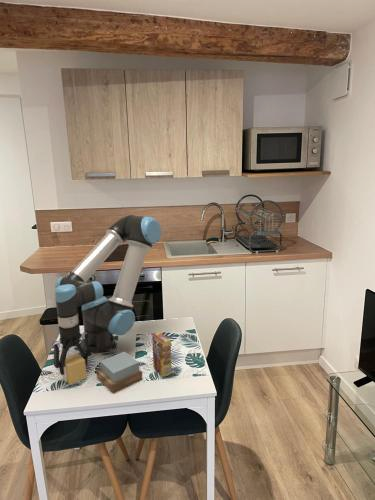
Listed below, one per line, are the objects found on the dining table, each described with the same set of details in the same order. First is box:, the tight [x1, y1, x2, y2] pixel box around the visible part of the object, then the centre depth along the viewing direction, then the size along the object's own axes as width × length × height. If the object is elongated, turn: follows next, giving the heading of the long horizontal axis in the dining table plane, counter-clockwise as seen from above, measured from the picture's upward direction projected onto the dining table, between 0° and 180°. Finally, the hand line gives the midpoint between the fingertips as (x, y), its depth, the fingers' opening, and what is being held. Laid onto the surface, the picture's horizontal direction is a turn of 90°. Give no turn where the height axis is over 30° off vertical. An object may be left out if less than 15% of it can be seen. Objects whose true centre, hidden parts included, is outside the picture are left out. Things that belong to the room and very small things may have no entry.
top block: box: [99, 351, 140, 383], centre depth 140 cm, size 11×11×4 cm
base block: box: [95, 368, 143, 394], centre depth 140 cm, size 13×13×4 cm
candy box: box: [151, 331, 172, 378], centre depth 144 cm, size 9×4×15 cm, turn 32°
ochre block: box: [64, 353, 88, 385], centre depth 142 cm, size 7×7×8 cm
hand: (74, 376), depth 143 cm, fingers open, 7 cm apart
